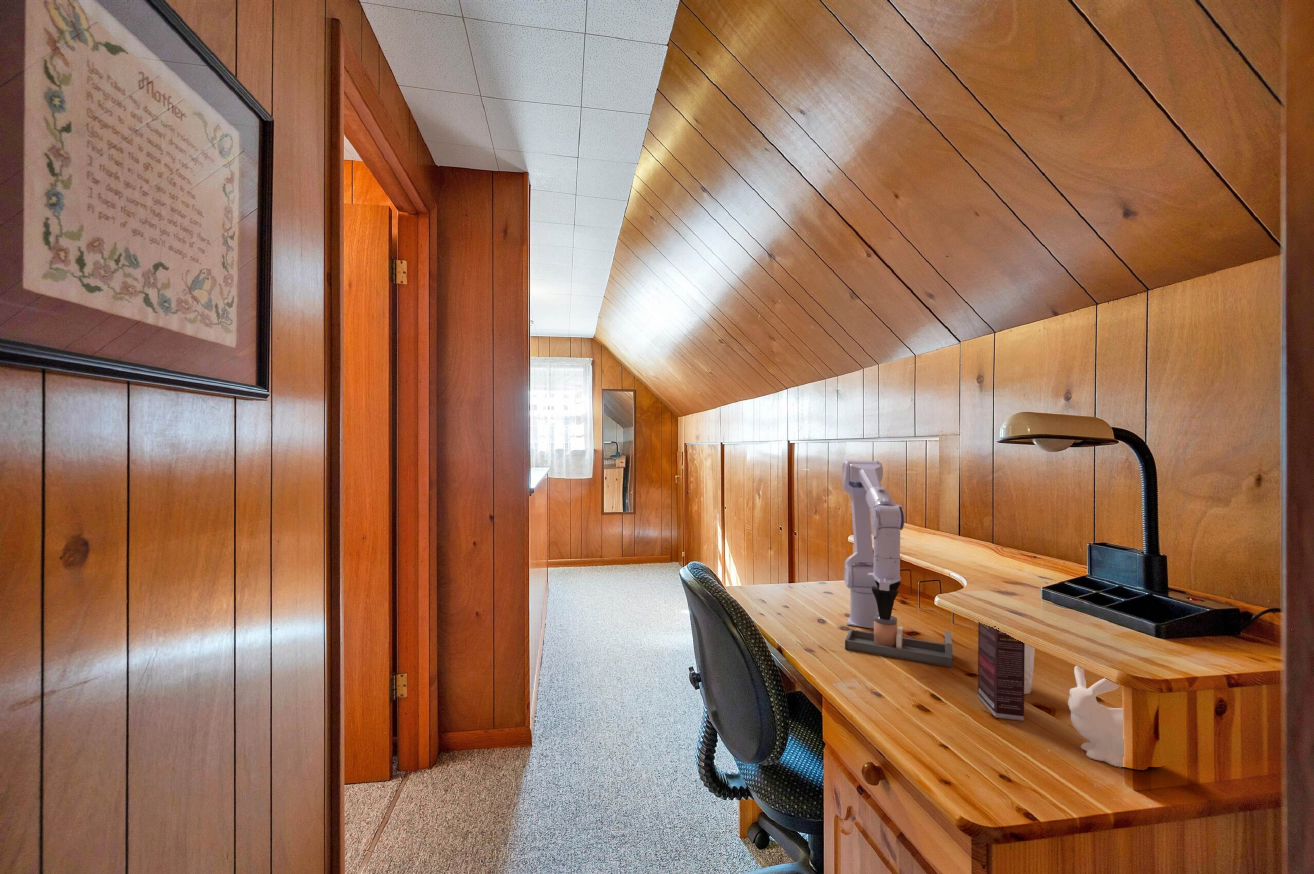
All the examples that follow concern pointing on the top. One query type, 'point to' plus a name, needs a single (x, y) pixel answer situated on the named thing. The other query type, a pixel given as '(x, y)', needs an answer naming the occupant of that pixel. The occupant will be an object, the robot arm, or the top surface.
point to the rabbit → (1097, 720)
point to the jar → (885, 631)
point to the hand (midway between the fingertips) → (886, 614)
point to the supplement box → (1001, 673)
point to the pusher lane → (903, 648)
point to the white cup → (1028, 668)
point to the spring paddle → (899, 637)
